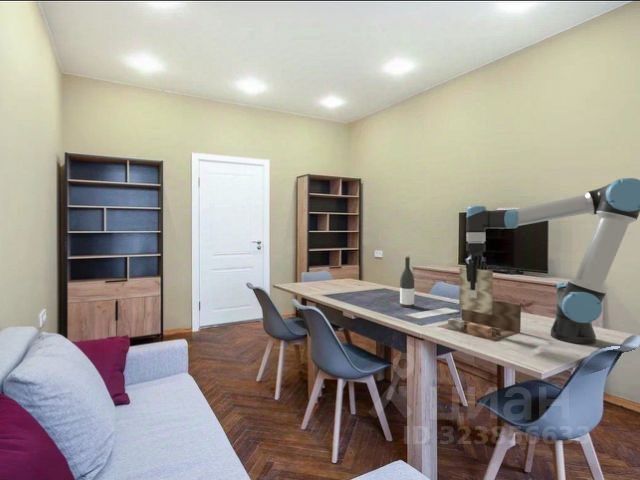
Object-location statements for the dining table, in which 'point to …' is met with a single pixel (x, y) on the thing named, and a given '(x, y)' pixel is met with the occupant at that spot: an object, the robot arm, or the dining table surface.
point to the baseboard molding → (432, 313)
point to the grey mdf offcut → (456, 324)
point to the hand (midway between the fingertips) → (475, 297)
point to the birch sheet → (483, 292)
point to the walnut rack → (494, 320)
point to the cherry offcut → (479, 330)
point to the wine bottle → (407, 286)
